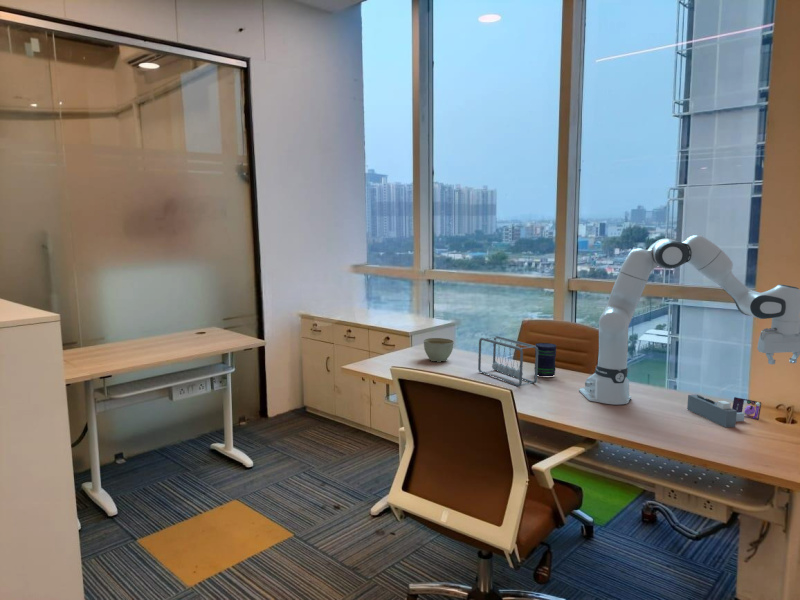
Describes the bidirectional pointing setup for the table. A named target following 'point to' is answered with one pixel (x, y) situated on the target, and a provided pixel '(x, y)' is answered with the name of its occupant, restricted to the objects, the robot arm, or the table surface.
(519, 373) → the newton's cradle
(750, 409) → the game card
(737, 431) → the table surface
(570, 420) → the table surface
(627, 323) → the robot arm
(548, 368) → the storage jar
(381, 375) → the table surface
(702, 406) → the charging dock
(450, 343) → the planter bowl
